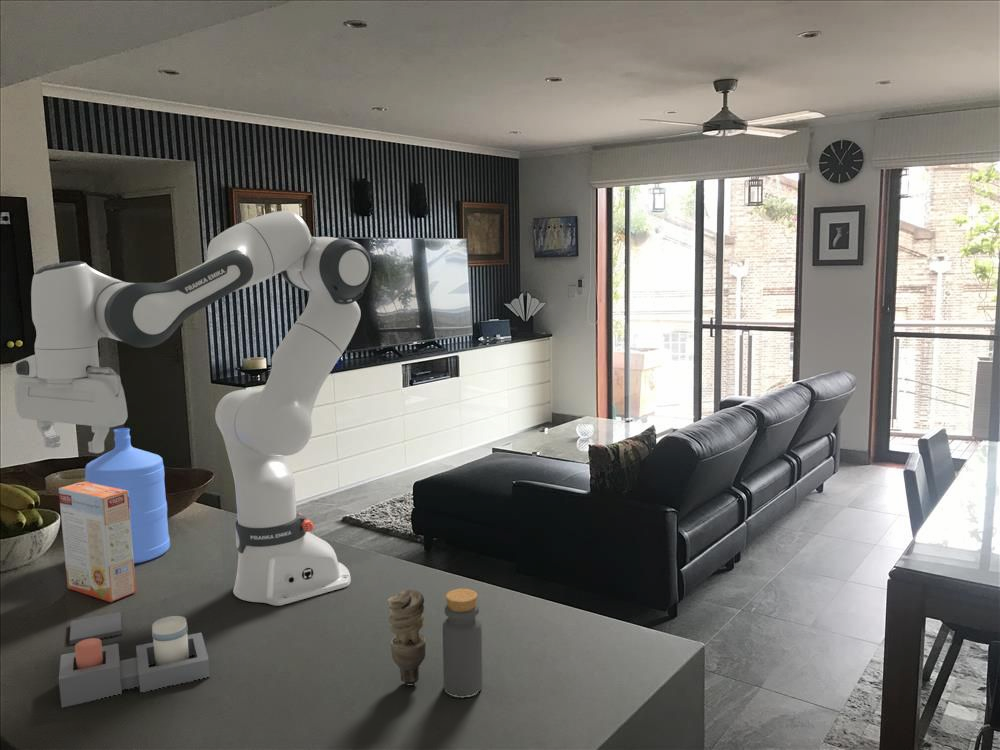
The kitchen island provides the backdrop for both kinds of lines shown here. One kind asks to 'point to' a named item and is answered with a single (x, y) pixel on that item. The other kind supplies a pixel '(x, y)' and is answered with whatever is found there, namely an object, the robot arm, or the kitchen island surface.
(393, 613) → the light bulb
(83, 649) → the plunger
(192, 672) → the housing
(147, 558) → the water jug
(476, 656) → the bottle
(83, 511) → the cracker box
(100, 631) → the pad
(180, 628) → the cartridge
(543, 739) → the kitchen island surface
